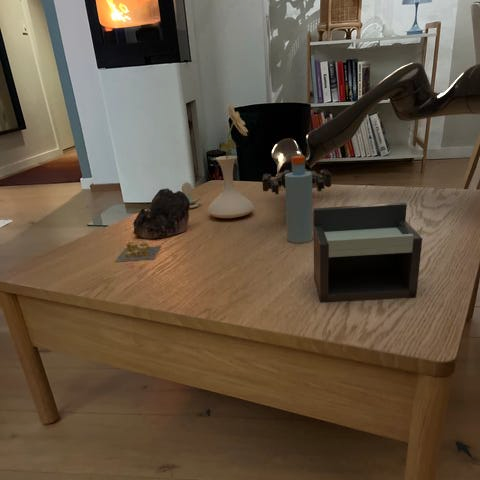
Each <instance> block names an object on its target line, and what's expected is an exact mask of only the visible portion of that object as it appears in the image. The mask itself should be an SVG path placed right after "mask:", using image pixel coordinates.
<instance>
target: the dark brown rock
mask: <svg viewBox="0 0 480 480" xmlns="http://www.w3.org/2000/svg"><path fill="white" fill-rule="evenodd" d="M189 207H190V202H189V199H188V198H187V196H186V195H185V194H184V193H183V192H182V190H177V191H176V192H173V190H171V189H169V188H161V189H159V190H158V191H157V193H156V194H155V195H154V197H153V198H152V199H151V202H150V204H149V205H148V206H147V208H146V209H145V208H141V209H140V211H138V213H137V215H136V218H135V219H134V220H133V224H132V225H133V235H135V236H139V237H140V238H143V239H147V240H154V239H155V240H156V239H162V238H166V237H171V236H175V235H177V234H181V233H184V232H185V231H186V230H187V227H188V222H189V218H190V213H189V212H190V211H189V210H190V208H189Z"/></svg>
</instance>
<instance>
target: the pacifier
mask: <svg viewBox="0 0 480 480" xmlns="http://www.w3.org/2000/svg"><path fill="white" fill-rule="evenodd" d="M181 192H183V193H184V194H185V195H186V196H187V198H188V199H189V202H190V207H189V209H194V208H197V207H198V206H199V204H198V203H197V202H199V201H200V200H201V199H202V196H200V197H197V198H195V199H193V195H192V193H193V185H192V183H190V182H188V181H187V182H184V183H182V186H181Z"/></svg>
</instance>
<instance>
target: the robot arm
mask: <svg viewBox="0 0 480 480" xmlns="http://www.w3.org/2000/svg"><path fill="white" fill-rule="evenodd" d="M386 99H387V100H388V102H389V105H390V106H391V110H392V112H393V113H394V115H395V116H396V118H397V119H398V120H400V121H404V122H412V121H413V122H414V121H419V120H424V119H432V118H437V117H446V116H458V115H480V63H478V64H474V65H472V66H469V68H467V69H466V70H464V72H462V73H461V74H460V75H459V76H458V78H456V80H455V81H454V82H453V83H452V84H451V85H450V87H449V88H447V90H445V91H443V92H435V91H434V90H433V88H432V85H431V82H430V79H429V77H428V75H427V72H426V70H425V67H424V65H423V64H422V63H420V62H411V63H408V64H406V65H403V66H401V67H400V68H398V69H396V70H395V71H393V72H392V73H390V74H389V75H388V76H386V77H385V78H384V79H383V80H381V81H379V83H377V84H376V85H375V86H373V87H372V88H371V89H370V90H368V91H367V92H365V93H364V94H363V95H362V96H361V97H359V98H358V99H357V100H356V101H354V102H353V103H352V104H351V105H350V106H348V107H347V108H346V109H344V110H343V111H342V112H340V113H339V114H337V115H336V116H334V117H333V118H331V119H329V120H328V121H326V122H324V123H322V124H321V125H319V126H318V127H316V128H313V130H311V131H309V132H308V133H307V134H306V138H305V139H306V144H307V146H308V150H309V154H308V155H307V157H305V171H306V172H311V173H312V189H316V191H317V192H322V191H323V190H325V187H327V188H330V187H332V173H331V172H330V171H329V170H328V169H326V168H323V169H321V170H320V171H319V173H317V172H316V171H314V170H312V167H314V166H315V165H316V164H317V163H319V161H321V160H322V159H323V158H325V157H327V156H328V155H329V154H332V153H333V152H335V151H337V150H339V149H340V148H342V147H344V146H345V145H347V144H348V143H349V142H350V141H351V140H352V139H353V138H354V136H355V135H356V134H357V132H358V131H359V129H360V128H361V126H362V124H363V123H364V122H365V120H366V118H367V116H368V115H369V113H370V112H372V110H373V109H374V108H375V107H376V106H377V105H378V104H379V103H381V102H382V101H384V100H386ZM293 156H304V154H303V152H302V149H301V148H300V146H299V145H298V143H297V141H296V140H295V139H293V138H283V139H281V140H280V141H278V142H277V143H276V144H275V145H274V146H273V149H272V150H271V158H272V159H273V162H274V163H275V165H276V172H277V174H276V175H275V176H272V175H271V174H270V173H267V172H266V173H263V175H262V178H261V180H262V182H261V183H262V191H263V192H268V191H269V190H271V193H274V194H275V195H279V194H280V192H283V191H284V192H285V174H287V173H291V172H292V164H291V157H293Z"/></svg>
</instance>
